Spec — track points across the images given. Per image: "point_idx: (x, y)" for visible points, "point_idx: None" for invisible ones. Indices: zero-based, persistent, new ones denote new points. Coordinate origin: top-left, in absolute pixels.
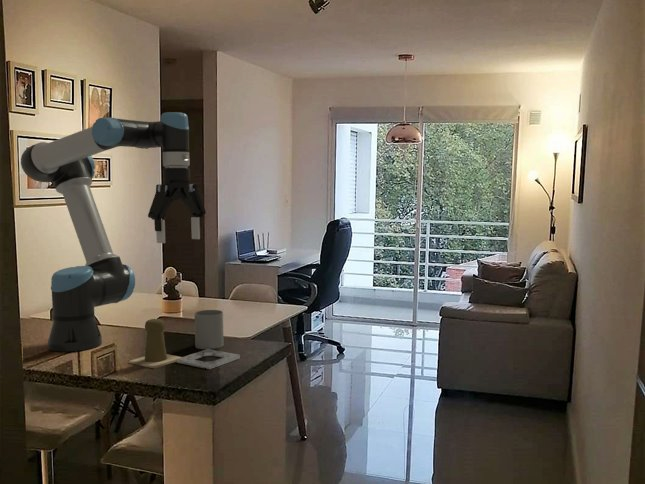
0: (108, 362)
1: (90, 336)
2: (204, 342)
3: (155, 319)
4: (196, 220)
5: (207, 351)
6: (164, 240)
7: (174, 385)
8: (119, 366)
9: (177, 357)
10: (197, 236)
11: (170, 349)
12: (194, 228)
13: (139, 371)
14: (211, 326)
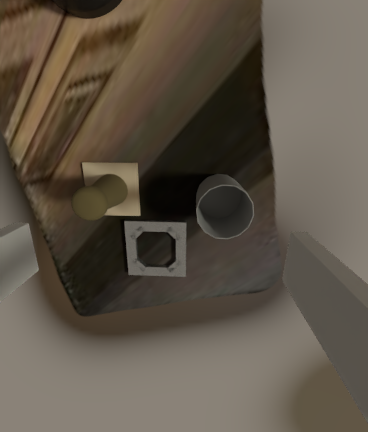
0: (65, 130)
1: (79, 1)
2: (198, 207)
3: (86, 208)
4: (357, 383)
5: (175, 231)
6: (23, 278)
7: (67, 276)
8: (65, 163)
9: (135, 210)
10: (289, 285)
11: (169, 158)
12: (318, 298)
13: (71, 205)
14: (206, 225)
